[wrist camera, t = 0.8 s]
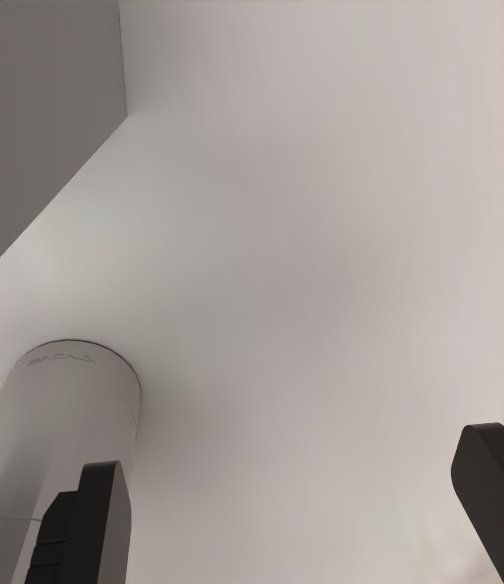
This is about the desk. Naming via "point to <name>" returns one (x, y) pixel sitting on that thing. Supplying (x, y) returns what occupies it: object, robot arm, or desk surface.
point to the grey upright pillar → (53, 99)
